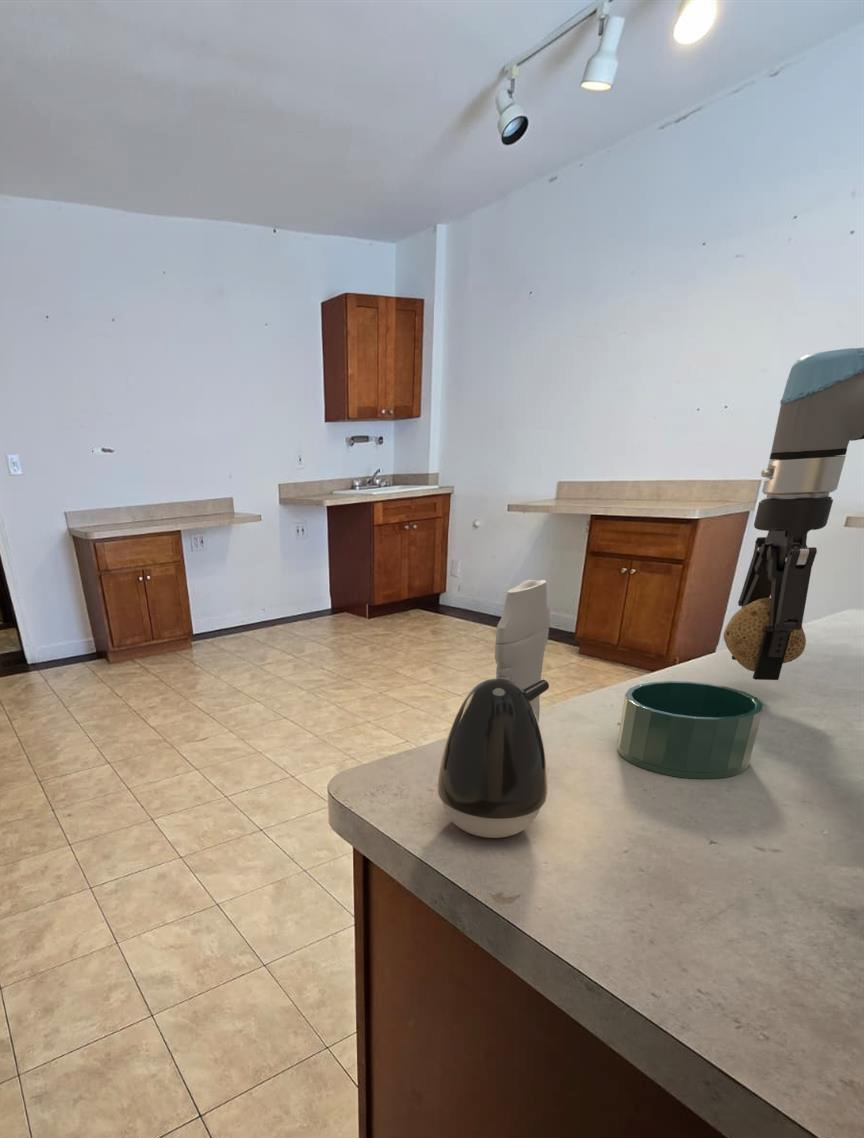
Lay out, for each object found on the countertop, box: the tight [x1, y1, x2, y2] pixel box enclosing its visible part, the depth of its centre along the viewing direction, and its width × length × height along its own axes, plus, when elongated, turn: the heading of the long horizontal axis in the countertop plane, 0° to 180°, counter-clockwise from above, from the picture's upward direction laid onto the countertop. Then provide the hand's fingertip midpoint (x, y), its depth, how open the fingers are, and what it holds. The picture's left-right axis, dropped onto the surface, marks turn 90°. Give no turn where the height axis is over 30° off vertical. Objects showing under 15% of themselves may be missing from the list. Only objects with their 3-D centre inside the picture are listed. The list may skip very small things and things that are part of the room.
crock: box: [616, 680, 764, 780], centre depth 74 cm, size 13×13×7 cm
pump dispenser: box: [437, 677, 550, 839], centre depth 61 cm, size 10×10×15 cm
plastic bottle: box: [494, 579, 551, 725], centre depth 69 cm, size 11×4×22 cm, turn 135°
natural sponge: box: [723, 597, 807, 672], centre depth 88 cm, size 9×9×10 cm
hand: (753, 668), depth 90 cm, fingers closed on natural sponge, 9 cm apart
